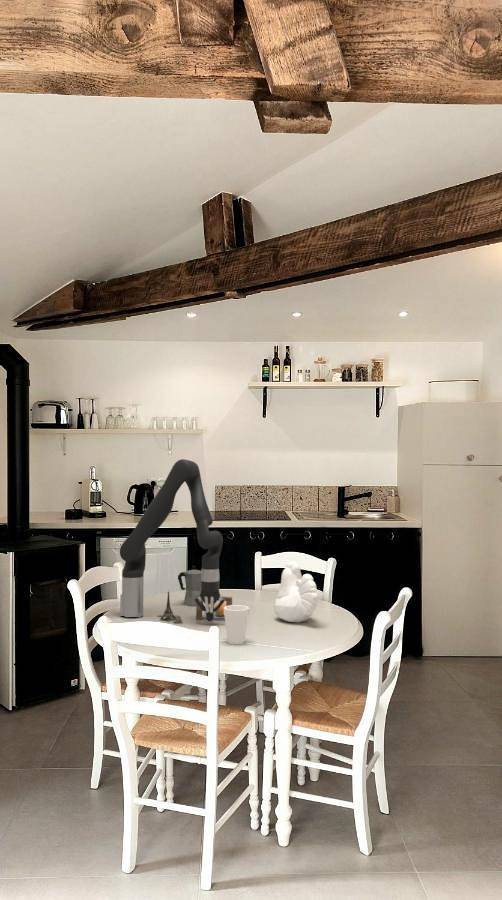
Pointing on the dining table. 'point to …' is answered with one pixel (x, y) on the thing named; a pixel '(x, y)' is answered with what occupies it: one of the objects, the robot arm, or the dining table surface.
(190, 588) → the coffeepot
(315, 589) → the decorative rooster
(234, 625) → the foam cup
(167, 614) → the eiffel tower figurine
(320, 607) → the dining table surface
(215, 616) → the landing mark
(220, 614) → the ball
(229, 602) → the bridge
